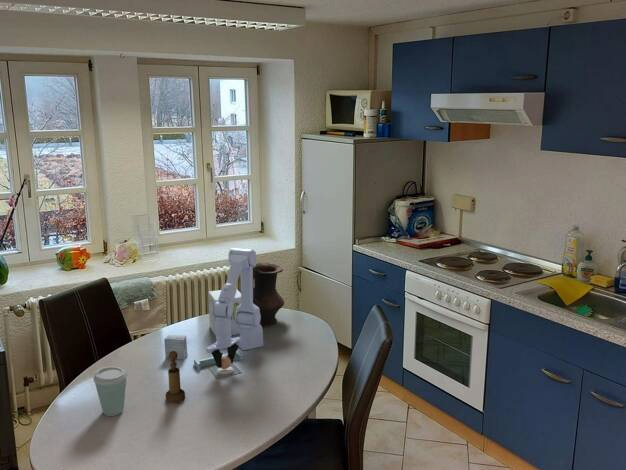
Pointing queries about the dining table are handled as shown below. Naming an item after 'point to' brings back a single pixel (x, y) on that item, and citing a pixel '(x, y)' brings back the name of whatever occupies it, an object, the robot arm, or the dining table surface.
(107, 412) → the disposable coffee cup
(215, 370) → the resting mat
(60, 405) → the dining table surface
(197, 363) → the divider wall
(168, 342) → the medicine box
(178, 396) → the brown wooden tall figure
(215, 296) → the supplement box
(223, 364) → the ball
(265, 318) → the jug
